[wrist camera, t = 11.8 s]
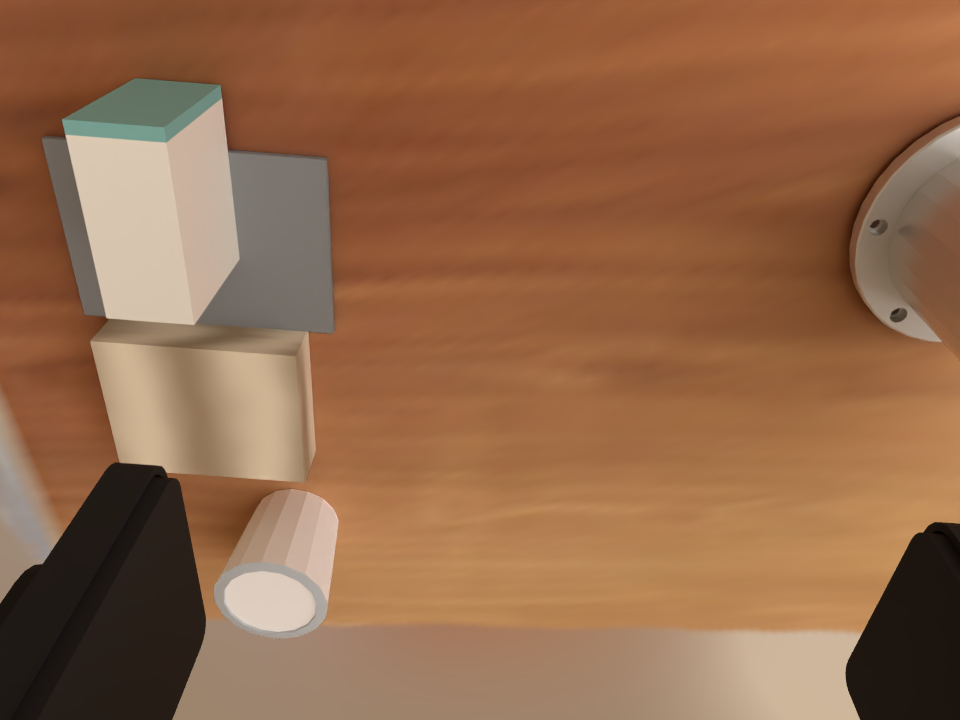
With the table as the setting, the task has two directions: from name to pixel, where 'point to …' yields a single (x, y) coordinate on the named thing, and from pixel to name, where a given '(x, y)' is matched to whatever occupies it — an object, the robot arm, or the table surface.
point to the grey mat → (240, 241)
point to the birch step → (208, 398)
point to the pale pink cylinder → (281, 567)
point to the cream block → (156, 197)
